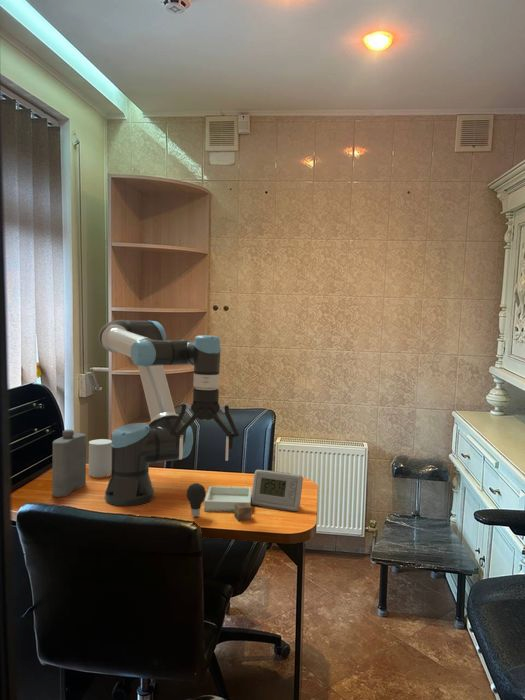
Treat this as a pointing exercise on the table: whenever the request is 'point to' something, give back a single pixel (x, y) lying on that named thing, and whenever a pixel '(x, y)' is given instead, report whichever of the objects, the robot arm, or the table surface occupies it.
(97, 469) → the cup
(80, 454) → the flask
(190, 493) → the light bulb
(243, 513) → the walnut block
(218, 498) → the tray
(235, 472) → the table surface
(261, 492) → the digital clock
